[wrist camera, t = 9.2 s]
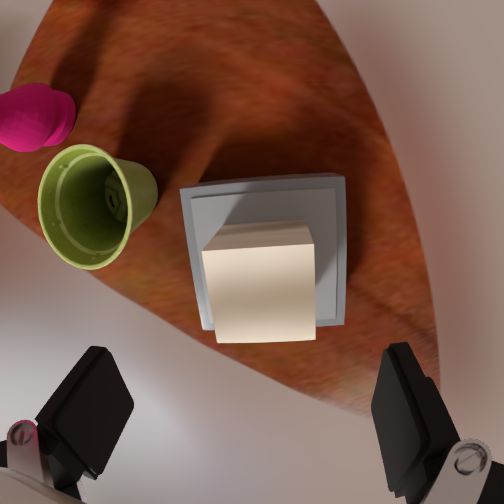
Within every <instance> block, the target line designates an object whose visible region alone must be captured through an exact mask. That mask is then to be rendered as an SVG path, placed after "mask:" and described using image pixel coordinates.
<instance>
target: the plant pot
mask: <svg viewBox="0 0 504 504" xmlns="http://www.w3.org/2000/svg"><path fill="white" fill-rule="evenodd" d="M110 195H112V201H113V204H114V206H115V207H113V206H112V205H111V202H110V198H109V197H110ZM157 199H158V188H157V184H156V181H155V178H154V177H153V175H152V173H151V172H150V171H149V170H148V169H147V168H146V167H144V166H143V165H141V164H139V163H136V162H131V161H126V160H121V159H117V158H113V157H112V156H111V155H110V154H109V153H107V152H106V151H104V150H103V149H101V148H99V147H96V146H93V145H87V144H79V145H74V146H71V147H68V148H66V149H64V150H63V151H61V152H60V153H59V154H58V155H56V156H55V157H54V159H53V160H52V161H51V162H50V164H49V165H48V167H47V168H46V170H45V172H44V175H43V177H42V180H41V183H40V187H39V193H38V212H39V219H40V223H41V226H42V229H43V232H44V235H45V237H46V239H47V241H48V242H49V244H50V245H51V247H52V248H53V249H54V251H55V252H56V253H57V254H58V255H59V256H60V257H61V258H62V259H63V260H65V261H66V262H67V263H69V264H71V265H73V266H75V267H78V268H81V269H98V268H101V267H104V266H106V265H108V264H109V263H111V262H112V261H113V260H114V259H115V258H116V257H117V256H118V255H119V254H120V253H121V251H122V250H123V249H124V247H125V245H126V243H127V241H128V239H129V236H130V234H131V233H132V232H133V231H134V230H135V229H136V228H137V227H138V226H139V225H140V224H141V223H142V222H144V221H145V220H146V219H147V218H148V217H149V216H150V215H151V213H152V212H153V210H154V208H155V205H156V202H157Z"/></svg>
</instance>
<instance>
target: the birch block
mask: <svg viewBox="0 0 504 504" xmlns="http://www.w3.org/2000/svg"><path fill="white" fill-rule="evenodd" d="M202 258H203V264H204V270H205V276H206V282H207V288H208V294H209V300H210V305H211V311H212V317H213V322H214V327H215V333H216V338H217V343H254V342H282V341H301V340H315V260H314V243H313V240H312V237H311V234H310V231H309V228H308V225H307V223H306V220H290V221H275V222H261V223H248V224H235V225H223V226H222V227H221V228H220V229H219V230H218V232H217V233H216V234H215V235H214V236H213V238H212V239H211V240H210V241H209V243H208V244H207V245H206V246H205V247H204V249H203V250H202Z"/></svg>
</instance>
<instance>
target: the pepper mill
mask: <svg viewBox="0 0 504 504" xmlns="http://www.w3.org/2000/svg"><path fill="white" fill-rule="evenodd" d="M75 116H76V107H75V103H74V100H73V98H72V97H71V96H70V95H69V94H68V93H66V92H62V91H57V90H52V88H51V87H49V86H48V85H46V84H42V83H30V84H26V85H22V86H20V87H17V88H15V89H13V90H11V91H8V92H6V93H4V94H0V143H2V144H4V145H5V146H7V147H9V148H10V149H12V150H15V151H19V152H31V151H35V150H37V149H39V148H40V147H42V146H53V145H57V144H59V143H61V142H62V141H64V140H65V139H66V137H67V136H68V135H69V133H70V132H71V130H72V127H73V125H74V121H75Z"/></svg>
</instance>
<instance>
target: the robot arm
mask: <svg viewBox="0 0 504 504" xmlns="http://www.w3.org/2000/svg"><path fill="white" fill-rule="evenodd" d="M133 408H134V402H133V399H132V397H131V395H130V393H129V391H128V389H127V387H126V385H125V383H124V381H123V378H122V376H121V374H120V372H119V370H118V367H117V365H116V363H115V361H114V358H113V356H112V354H111V353H110V352H109V351H108V349H107V348H106V347H99V346H90V347H89V349H88V350H87V351H86V352H85V353H84V355H83V356H82V357H81V358H80V360H79V361H78V362H77V363H76V365H75V366H74V367H73V369H72V370H71V371H70V372H69V374H68V375H67V376H66V378H65V379H64V380H63V381H62V383H61V384H60V385H59V387H58V388H57V389H56V391H55V392H54V393H53V395H52V396H51V397H50V399H49V400H48V401H47V403H46V404H45V405H44V407H43V408H42V409H41V411H40V412H39V414H38V415H37V416H36V418H35V420H36V421H37V422H38V425H37V426H35V424H34V423H33V422H31V421H30V420H21V421H18V422H16V423H15V424H14V425H12V427H11V428H10V429H9V431H8V433H7V440H4V441H1V442H0V504H89V503H88V500H87V498H86V494H85V491H84V488H83V485H82V481H81V476H82V474H83V475H84V476H86V477H88V478H91V479H93V480H96V479H97V477H98V475H100V474H102V473H103V471H104V469H105V466H106V464H107V462H108V460H109V458H110V456H111V454H112V452H113V450H114V448H115V445H116V443H117V441H118V439H119V437H120V435H121V433H122V431H123V429H124V427H125V425H126V423H127V420H128V419H129V417H130V415H131V413H132V411H133ZM371 411H372V416H373V420H374V423H375V428H376V432H377V436H378V440H379V445H380V449H381V454H382V459H383V463H384V468H385V473H386V478H387V483H388V488H389V490H390V492H393V491H394V492H395V497H396V498H398V497H401V496H405V498H406V503H407V504H504V465H503V464H500V463H497V462H495V461H492V455H491V451H490V449H489V447H488V446H487V445H486V444H485V443H484V442H482V441H480V440H478V439H464V440H462V441H461V440H460V438H459V435H458V433H457V431H456V429H455V426H454V424H453V422H452V419H451V417H450V415H449V413H448V410H447V408H446V406H445V404H444V402H443V400H442V398H441V396H440V394H439V391H438V389H437V387H436V385H435V383H434V381H433V380H432V378H430V377H425V375H424V373H423V371H422V369H421V367H420V365H419V363H418V361H417V359H416V357H415V355H414V353H413V351H412V350H411V348H410V346H409V344H408V343H407V342H400V343H393V344H390V345H389V347H388V349H384V351H383V355H382V360H381V365H380V369H379V374H378V378H377V383H376V387H375V391H374V395H373V399H372V403H371Z"/></svg>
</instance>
